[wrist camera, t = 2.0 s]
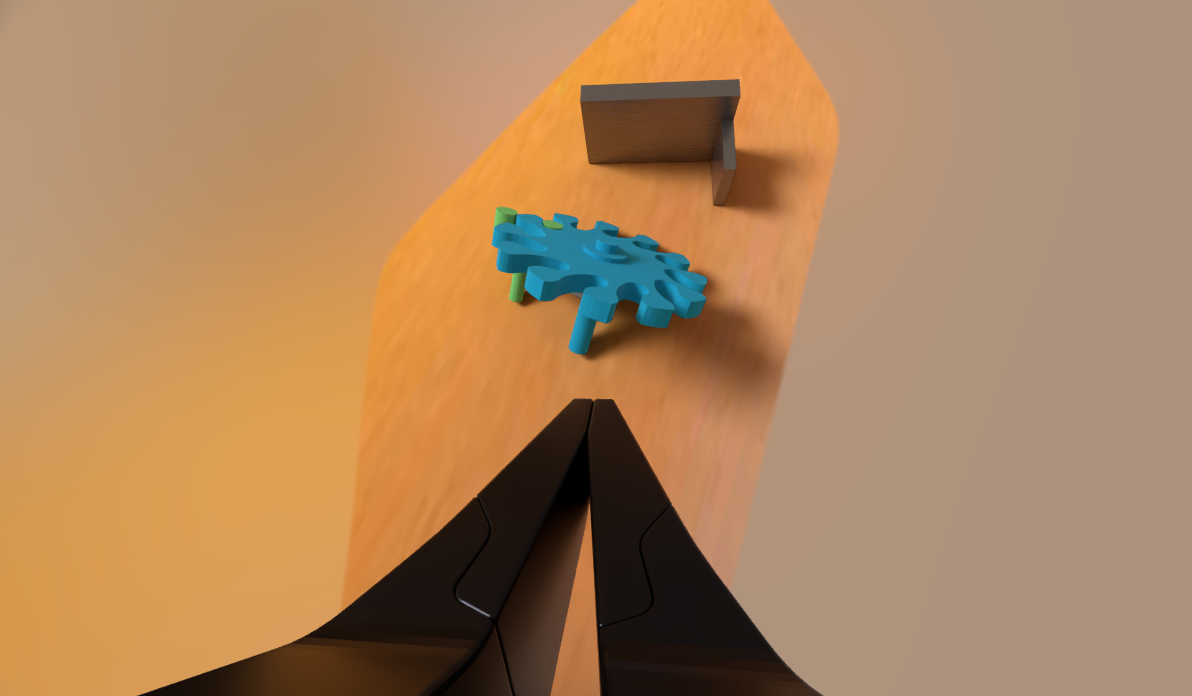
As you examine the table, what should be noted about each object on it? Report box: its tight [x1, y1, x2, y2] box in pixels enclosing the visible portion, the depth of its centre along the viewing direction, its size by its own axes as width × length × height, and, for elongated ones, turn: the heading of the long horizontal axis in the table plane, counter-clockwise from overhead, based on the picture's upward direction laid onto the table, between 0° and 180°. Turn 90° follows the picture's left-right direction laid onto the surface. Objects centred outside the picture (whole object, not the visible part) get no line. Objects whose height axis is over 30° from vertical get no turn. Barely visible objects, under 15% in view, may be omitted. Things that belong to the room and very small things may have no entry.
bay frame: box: [580, 79, 740, 205], centre depth 23 cm, size 4×8×4 cm, turn 88°
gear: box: [492, 207, 707, 354], centre depth 21 cm, size 11×6×10 cm
